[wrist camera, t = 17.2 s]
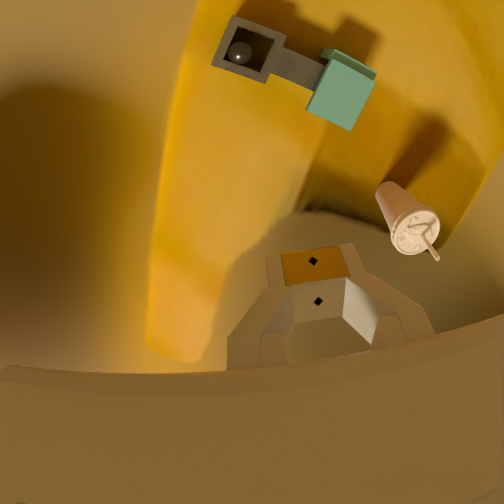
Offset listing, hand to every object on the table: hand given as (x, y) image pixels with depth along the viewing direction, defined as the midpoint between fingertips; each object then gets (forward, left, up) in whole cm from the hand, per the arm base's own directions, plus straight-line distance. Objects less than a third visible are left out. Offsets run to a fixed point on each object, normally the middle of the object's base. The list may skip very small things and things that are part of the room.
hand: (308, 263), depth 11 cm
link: (-3, -4, -27) cm, 28 cm away
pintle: (+1, -6, -27) cm, 28 cm away
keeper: (-8, -1, -27) cm, 28 cm away
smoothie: (-16, +14, -27) cm, 34 cm away
